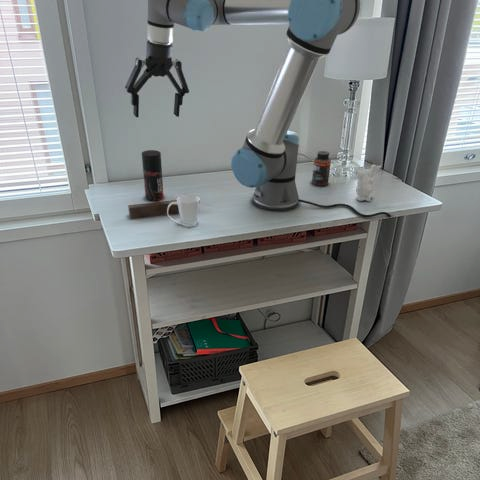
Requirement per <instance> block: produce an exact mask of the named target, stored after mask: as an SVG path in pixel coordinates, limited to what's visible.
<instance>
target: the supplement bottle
mask: <svg viewBox="0 0 480 480" xmlns="http://www.w3.org/2000/svg"><path fill="white" fill-rule="evenodd" d="M329 157H330V152H329V151H327V150H319V151H318V152H317V156H316V157H315V158H314V160H313V169H312V178H311V183H312V184H313V185H314V186H318V187H325V186H327V185H328V184H329V179H330V170H331V163H332V160H331V159H330V158H329Z"/></svg>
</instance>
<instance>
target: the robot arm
mask: <svg viewBox="0 0 480 480" xmlns="http://www.w3.org/2000/svg"><path fill="white" fill-rule="evenodd" d="M360 11H361V0H147V24H146V25H147V26H146V27H147V28H146V29H147V30H146V38H147V41H146V53H145V54H146V58H145V59H141V58H140V57H135V62H134V66H133V69H132V70H131V73H130V75H129V77H128V79H127V82H126V84H125V86H124V90H125V91H126V92H127V94H130V104H131V106H133V108H132V109H133V113H132V114H133V116H134V117H135V118H140V117H139V114H140V113H139V112H140V111H139V109H140V108H139V107H140V95H139V94H138V93H139V92H140V90H141V89H142V88H143V87H144V85H146V83H147V82H148V81H149V79H151V78H152V77H156V78H157V77H162V78H163V77H164V78H165V77H167V79H168V80H169V81H170V83H171V84H172V86H173V88H174V89H175V90H176V92H175V93H174V102H173V103H174V104H173V115H174V116H175V117H177V118H179V117H180V108H181V106H183V102H184V101H183V99H184V97H185V95H186V94H189V93H190V89H189V85H188V83H187V81H186V77H185V74H184V71H183V67H182V65H183V64H182V62H181V60H180V59H178V58H176V59H175V60H172V59H173V42H174V29H175V24H176V25H180V26H183V27H185V28H187V29H190V30H193V31H199V32H206V31H208V29H209V28H210V27H211V26H233V25H235V26H236V25H239V26H240V25H241V26H242V25H243V26H244V25H245V26H246V25H247V26H248V25H249V26H253V25H254V26H255V25H256V26H258V25H261V26H263V25H266V26H270V25H271V26H272V25H273V26H276V25H277V26H288V27H287V30H286V33H285V36H286V38H287V41H288V45H287V47H286V50H285V52H284V55H283V57H282V60H281V62H280V65H279V67H278V70H277V73H276V75H275V78H274V80H273V83H272V85H271V88H270V91H269V93H268V96H267V98H266V101H265V103H264V106H263V108H262V111H261V113H260V115H259V118H258V121H257V124H256V126H255V128H254V129H251V130H249V131H248V132H247V134H246V136H245V140H244V141H243V145H242V146H241V148H238V149H236V151H235V152H233V154H232V157H231V162H230V167H231V170H232V173H233V175H234V177H235V179H236V180H237V181H238V182H239V183H240V184H241V185H242V186H244V187H246V188H251V189H252V188H253V189H254V188H255V189H254V191H253V193H252V202H253V204H254V205H255V206H257V207H259V208H261V209H264V210H268V211H276V212H277V211H279V212H280V211H281V212H282V211H288V210H292V209H294V208H296V207H297V206H298V205H299V202H300V203H304V204H307V205H312V206H315V207H318V208H325V209H327V208H328V209H330V208H336V207H346V208H348V209H350V210H352V211H353V212H354V213H355V214H356V215H357V216H360V217H364V218H373V217H376V216H379V215H385V216H387V217H388V218H392V215H391V214H390V213H388V212H386V211H379V212H375V213H371V214H364V213H361V212H359V211H358V210H357V209H356V208H354V206H352V205H350V204H346V203H334V204H329V205H325V204H324V205H323V204H319V203H315V202H312V201H307V200H304V199H300V198H299V193H298V188H297V184H296V173H297V164H298V155H299V147H300V136H299V134H297V132H294V131H292V130H289V129H290V126H291V125H292V123H293V120H294V118H295V115H296V113H297V111H298V108H299V106H300V105H301V102H302V100H303V97H304V95H305V93H306V92H307V91H306V90H307V88H308V86H309V84H310V82H311V79H312V77H313V75H314V73H315V70H316V68H317V66H318V64H319V62H320V59H321V58H322V59H323V58H324V57H327V56H328V55H329V54H330V52H331V50H332V48H333V46H334V44H335V41H336V39H337V36H340V35H342V34H345V33H346V32H348V31H349V30H350V29H352V27H353V26H354V25H355V23H356V22H357V20H358V18H359V15H360V13H361V12H360ZM144 66H146V68H144ZM142 68H144V69H145V70H143V73H142V74H141V71H142ZM172 68H174V70H175V71H176V74H177V77H178V80H179V83H180V84H179V83H178V82H177V80H176V79H175V77H174V74H173V73H172V72H171V71H170V70H171V69H172ZM140 74H141V76H139V75H140ZM137 79H138V80H137Z"/></svg>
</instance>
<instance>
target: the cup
mask: <svg viewBox="0 0 480 480" xmlns="http://www.w3.org/2000/svg"><path fill="white" fill-rule="evenodd" d="M176 200H177V202H172V203H170V204H169V205H168V208H167V215H166V216H167V218H168V219H169V220H171V221H172V222H174V223H175V224H177V225H181V226H184V227H187V228H193V227H196V225H197V224H198V223H197V221H198V217H199V211H200V204H201V197H199V196H198V195H197V194H189V193H187V194H182V195H179V196H178V197H177V198H176ZM172 204H176V205H178V209H179V213H178V214H179V218H180V220H181V222H180V221H177V220H176V219H174V218H173V217H171V216H170V215H169V214H168V210H169V207H170V206H171V205H172Z"/></svg>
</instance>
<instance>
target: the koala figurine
mask: <svg viewBox="0 0 480 480" xmlns="http://www.w3.org/2000/svg"><path fill="white" fill-rule="evenodd" d="M381 168H382V165H381V164H380V165H377V164H371V166H370V168H367V169H365V170H357V171H356V178H357V186H356V188H355V189H356V190H355V192H356V195H357V196H358V198H357V199H358V201H360V202H361V201H362V202H363V201H366V202H371V199H372V198H373V196H372V195H371V194H372V192H373V189H374V187H373V186H372V184H373V183H375V181H376V178H377V171H378V170H380V169H381Z"/></svg>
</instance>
